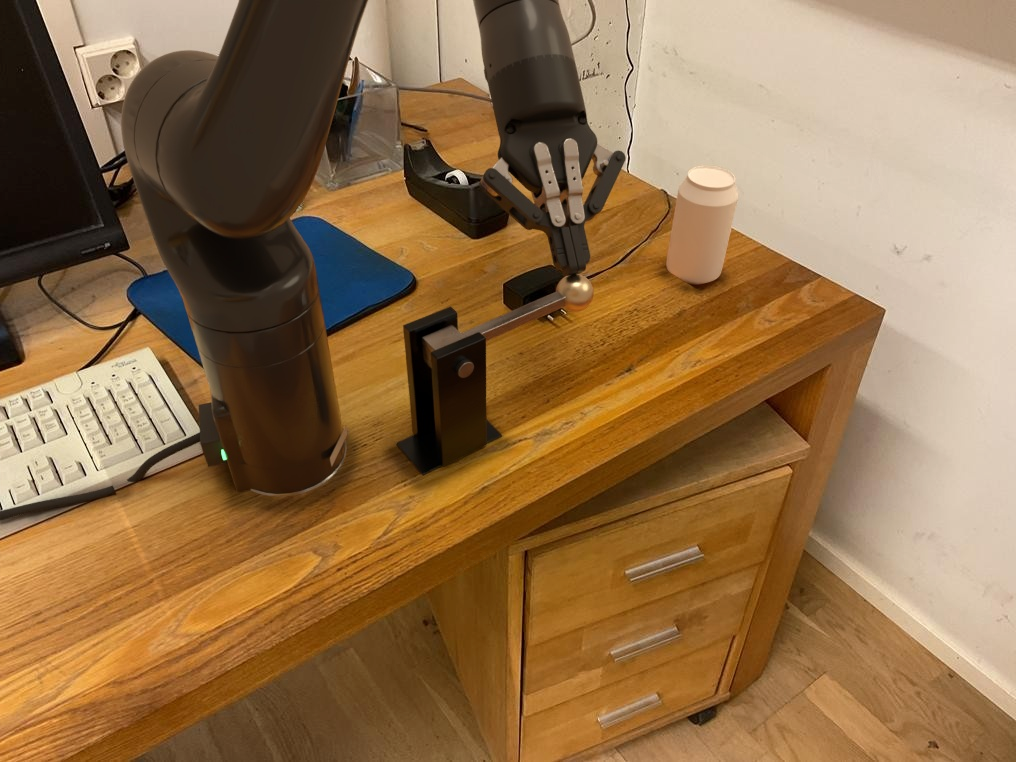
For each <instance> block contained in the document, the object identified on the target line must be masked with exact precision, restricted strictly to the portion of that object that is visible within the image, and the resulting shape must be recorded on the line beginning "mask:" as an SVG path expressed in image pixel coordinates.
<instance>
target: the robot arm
mask: <svg viewBox="0 0 1016 762" xmlns="http://www.w3.org/2000/svg"><path fill="white" fill-rule="evenodd" d="M368 2H369V0H238V2H237V5H236V7H235V11H234V14H233V16H232V19H231V21H230V23H229V24H230V25H229V27H228V30H227V33H226V35H225V38H224V40H223V44H222V46H221V49H220V51H219V54H218V55H216V54H214V53H210V52H205V51H201V50H192V49H186V50H185V49H184V50H178V51H177V50H176V51H172V52H169V53H165V54H163V55H160V56H157V58H154V59H153V60H151V61H150V62H149V63H147V64H145V66H143V68H141V69H140V70H139V72H137V74H136V75H135V76H134V78H133V80H132V81H131V83H130V85H129V86H128V88H127V90H126V93H125V95H124V99H123V103H122V108H121V117H120V118H121V119H120V126H121V127H120V129H121V138H122V144H123V150H124V153H125V158H126V161H127V165H128V168H129V171H130V174H131V177H132V180H133V184H134V186H135V189H136V192H137V195H138V198H139V200H140V203H141V206H142V209H143V212H144V215H145V217H146V221H147V223H148V227H149V229H150V231H151V232H150V233H151V236H152V237H153V240H154V241H153V242H154V243H155V246H156V249H157V251H158V253H159V256H160V258H161V261H162V262H163V265H164V266H165V268H166V270H167V272H168V274H169V275H170V278H171V280H172V281H173V282H174V284H175V286H176V287H177V290H178V292H179V294H180V297H181V300H182V302H183V306H184V310H185V311H186V315H187V318H188V321H189V325H190V328H191V331H192V334H193V338H194V341H195V345H196V348H197V351H198V354H199V355H198V356H199V358H200V361H201V364H202V367H203V371H204V375H205V377H206V378H205V379H206V381H207V384H208V387H209V390H210V402H205V403H200V404H198V423H199V432H197V433H195V434H193V435H191V436H188V437H187V438H184V439H182V440H180V441H177V442H175V443H173V444H171V445H168V446H167V447H165V448H163V449H161V450H159V451H158V452H156V453H154V454H153V455H151V456H149V458H148V459H146V460H145V461H144V462H142V464H141V465H140V466H139V467H138V469H137V470H136V471H135V472H134V473H133V474H132V475H131V476H130V477H128V478H127V479H126V482H129V483H135V482H140V481H141V480H142V479H143V478H144V477H145V475H146V474H147V473H148V472H149V471H150V470H151V468H153V467H154V466H156V465H157V464H158V463H160V462H161V461H164V460H165V459H167V458H169V457H171V456H172V455H174V454H177V453H179V452H181V451H183V450H185V449H187V448H190V447H192V446H194V445H197V444H200V447H201V451H202V453H203V456H204V459H205V462H206V465H207V467H208V468H210V467H214V466H219V465H224V464H227V466H228V469H229V472H230V476H231V479H232V482H233V486H234V489H235V492H237V493H242V492H247V491H251V492H254V493H256V494H259V495H262V496H267V497H291V496H296V495H301V494H304V493H308V492H309V491H312V490H315V489H316V488H319V487H321V486H323V484H325V483H327V482H328V481H329V480H331V479H332V478H333V477H334V476H335V475H336V474H337V473H338V471H339V470H340V469H341V467H342V466H343V464H344V462H345V460H346V457H347V453H348V452H347V451H348V446H347V440H346V439H347V436H348V434H349V433H348V428H347V425H345V426H344V428H343V423H342V416H341V410H340V405H339V398H338V393H337V387H336V382H335V381H336V380H335V375H334V369H333V363H332V358H331V352H330V351H331V350H330V345H329V339H328V334H327V327H326V322H325V317H324V316H325V315H324V310H323V303H322V298H321V297H322V296H321V291H320V286H319V280H318V279H319V278H318V274H317V269H316V264H315V259H314V255H313V253H312V251H311V249H310V246H309V245H308V244H307V243H306V241H305V239H304V238H303V236H302V235H301V233H300V232H299V231H298V229H297V228H296V226H295V224H294V223H293V220H292V219H291V217H293V215H294V214H295V213H296V212H297V210H298V209H299V207H300V206H301V204H302V203H303V201H304V200H305V199H306V197H307V195H308V193H309V191H310V189H311V187H312V185H313V183H314V181H315V178H316V175H317V173H318V170H319V167H320V165H321V164H320V163H321V161H322V158H323V155H324V152H325V148H326V145H327V142H328V137H329V134H330V130H331V126H332V122H333V119H334V115H335V111H336V108H337V104H338V100H339V97H340V93H341V89H342V86H343V83H344V79H345V76H346V72H347V71H346V70H347V67H348V65H349V61H350V58H351V54H352V50H353V48H354V44H355V41H356V37H357V34H358V31H359V28H360V26H361V22H362V19H363V16H364V15H365V11H366V8H367V5H368ZM472 2H473V7H474V8H473V9H474V13H475V17H476V21H477V26H478V29H479V36H480V37H479V38H480V49H481V51H480V52H481V58H482V63H483V74H484V79H485V81H486V83H487V87H488V92H489V95H490V96H489V97H490V99H491V105H492V109H493V114H494V118H495V124H496V127H497V128H496V129H497V133H498V136H499V147H498V151H497V159H498V160H497V161H496V163H495V164H494V165H492V167H490V168H489V167H488V168H487V169H486V170H485V171H484V174H483V175H482V176H481V178H480V180H479V183H478V186H479V189H480V190H481V191H482V192H483V193H485V195H487V196H488V197H489V198H490V199H491V200H492V201H493V202H494V203H496V204H497V205H498V206H499V207H500V208H501V209H502V210H504V211H505V212H506V213H507V214H508V215H509V216H510V217H511V218H513V220H515V222H517V224H519V225H520V226H521V227H523V229H525V230H527V231H531V230H536V231H541V232H543V233H544V234H545V235H546V237H547V241H548V245H549V250H550V253H551V258H552V264H553V266H554V268H555V270H556V271H561V274H562V276H563V277H565V276H569V275H575V274H579V275H581V274H582V273H583V272H585V271H586V269H587V264H590V261H591V252H590V247H589V243H588V242H589V241H588V239H587V234H586V229H585V224H586V222H590V221H591V220H593V219H594V218H595V217H596V215H598V214H600V213H601V212H602V211H603V209H604V207H605V204H606V202H607V201H608V198H609V196H610V194H611V192H612V190H613V187H614V186H615V184H616V181H617V179H618V177H619V175H620V173H621V170H622V168H623V166H624V164H625V162H626V159H627V158H626V154H625V152H624V151H622V150H614V151H610V150H609V149H607V148H606V147H604V146H603V145H601V144H599V143H598V138H597V135H596V133H595V132H594V131H593V130H592V128H591V127H590V125H589V122H588V116H587V108H586V105H585V100H584V96H583V95H584V94H583V91H582V86H581V82H580V78H579V72H578V68H577V63H576V59H575V55H574V50H573V46H572V41H571V37H570V33H569V30H568V27H567V25H566V21H565V19H564V17H563V14H562V10H561V6H560V1H559V0H472ZM591 161H592V162H593V166H592V171H593V173H594V175H596V178H595V180H594V181H593V184H592V187H591V188H590V190H589V192H588V195H587V197H586V199H585V201H584V202H583V192H584V187H583V181H582V180H583V179H584V178H585V176H586V173H587V171H588V168H589V166H590V164H591ZM513 178H514V179H516V181H518V182H519V183H520V184H521V185H522V186H523V187H524V188H525V189H526V190H527V191H529V192H530V193H531V197H532V200H531V199H530V198H528V196H526V195H525V194H524V193H523V192H522V191H521V190H519V189H518V188H517V187H516V186H515V185H514V184H513ZM116 494H117V492H116V489H115V487H114V486H113V485H110V486H107V487H103V488H101V489H97V490H93V491H89V492H84V493H78V494H73V495H68V496H62V497H57V498H56V497H55V498H51V499H46V500H42V501H41V500H40V501H35V502H32V503H26V504H23V505H19V506H15V507H11V508H7V509H2V510H0V521H4V520H7V519H10V518H14V517H20V516H22V515H27V514H31V513H36V512H40V511H45V510H49V509H55V508H61V507H66V506H72V505H76V504H81V503H86V502H90V501H94V500H98V499H103V498H106V497H109V496H112V495H116Z"/></svg>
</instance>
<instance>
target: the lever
mask: <svg viewBox="0 0 1016 762" xmlns="http://www.w3.org/2000/svg"><path fill="white" fill-rule="evenodd" d="M593 299H594V286H593V284H592V282H591V281H590V280H589V279H588V278H587V277H586V276H584V275H582V274H575V275H569V276H563V277H562V279H560V280H559V281H558V283H557V285H556V287H555V292H553V293H550V294H548V295H545V296H543V297H540V298H538V299H536V300H534V301H532V302H529V303H526V304H524V305H523V306H520V307H518V308H515V309H513V310H511V311H509V312H505V313H503V314H502V315H499V316H497V317H495V318H493V319H490V320H487V321H485V322H483V323H480V324H478V325H475V326H473V327H471V328H469V329H467V330H465V331H462V332H461V331H460V330H459V329H458V330H457V329H456V328H455V327H454V326H453V325H450V326H447V327H445V328H443V329H440V330H438V331H436V332H433V333H431V334H429V335H426V336H424V337H422V346H423V357H424V361H425V362H426V363H427V364H428V365H429V366H430V367H431V352H432V351H434V350H437V349H439V348H442V347H444V346H446V345H449V344H451V343H454V342H456V341H458V340H461V339H463V338H465V337H468V336H470V335H473V334H475V333H477V332H480V333H481V334H482V335H483V336H484V337H486V342H489V341H491V340H493V339H496V338H498V337H500V336H502V335H505V334H506V333H509V332H511V331H514V330H516V329H517V328H520V327H522V326H525V325H526V324H528V323H531V322H534V321H536V320H538V319H540V318H542V317H544V316H547V315H549V314H552V313H553V312H556V311H559V310H560V309H564V310H565V311H568V312H571V313H576V312H577V313H578V312H581V311H583V310H585V309H586V308H588V307H589V306H590V305H591V303H592V301H593Z"/></svg>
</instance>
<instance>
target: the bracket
mask: <svg viewBox="0 0 1016 762" xmlns="http://www.w3.org/2000/svg"><path fill="white" fill-rule="evenodd" d="M458 319H459V317H458V311H457V310H455V308H454V307H452V306H448V307H445V308H443V309H440V310H438V311H435V312H432V313H429V314H428V315H425V316H423V317H420V318H418V319H415V320H412V321H410V322H407V323H405V324H403V325H402V329H403V340H404V352H405V363H406V375H407V386H408V397H409V408H410V419H411V421H410V422H411V430H412V431H411V432H412V433H413V435H411V436H408V437H406V438H404V439H402V440H399V441H398V442H395V445H396V447H397V448H398V450H400V452H402V454H403V455H404V456H405V457H406V458H407V460H408V461H409V462H410V463H411V464H412V466H413V467H414V468H415V469H416V470H417V471H418V472H419V473H420V475H421V476H422V477H424V476H427V475H428V474H431V473H432V472H434V471H436V470H438V469H440V468H442V467H446V466H448V465H449V464H452V463H454V462H456V461H458V460H460V459H463V458H464V457H466V456H469V455H470V454H472V453H474V452H476V451H478V450H480V449H482V448H484V447H486V446H487V445H488V444H490V443H492V442H495V441H497V440H499V439H501V438H502V437H503V434H502V433H501V432H500V431H499V430H498V429H497V428H496V427H495V426H494V425H493V424H492V423H491V422H490V421H489V420H488V419H487V341H486V337H484V336H483V335H482V334H481V333H480V332H477V333H475V334H473V335H470V336H468V337H465V338H463V339H461V340H458V341H456V342H454V343H451V344H449V345H446V346H444V347H442V348H439V349H437V350H434V351H432V352H431V367H430V366H429V365H428V364H427V363H426V362H425V361H424V357H423V346H422V337H424V336H426V335H429V334H431V333H433V332H436V331H438V330H440V329H443V328H445V327H447V326H450V325H453V326H454V327H455V328H456V329H457V330H458V331H459V321H458Z"/></svg>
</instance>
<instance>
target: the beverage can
mask: <svg viewBox="0 0 1016 762" xmlns="http://www.w3.org/2000/svg"><path fill="white" fill-rule="evenodd" d="M739 196H740V195H739V191H738V188H737V185H736V176H735V175H734V173H733V172H732V171H729V170H728V169H726V168H723V167H720V166H716V165H698V166H694V167H692V168H690V169H689V170H688V171H687V175H686V176H685V178H684V179H683V180H682V181H681V183H680V184H679V185H678V189H677V194H676V201H675V207H674V214H673V218H672V224H671V231H670V236H669V237H670V238H669V243H668V247H667V248H668V249H667V255H666V261H665V262H666V263H665V266H666V270H667V271H668V272H669V273H671V275H673V276H675V277H677V278H679V279H680V280H681V281H683V282H684V283H686V284H688V285H703V284H707V283H710V282H713V281H715V280H717V279H718V278H720V276H721V274H722V271H723V267H724V262H725V259H726V254H727V249H728V245H729V241H730V236H731V232H732V227H733V223H734V218H735V213H736V211H737V210H736V209H737V205H738V201H739Z"/></svg>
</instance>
